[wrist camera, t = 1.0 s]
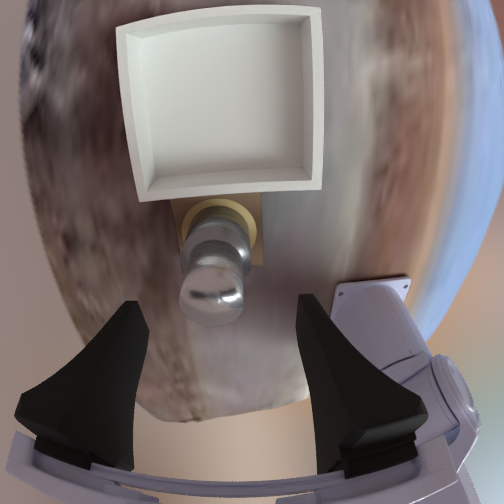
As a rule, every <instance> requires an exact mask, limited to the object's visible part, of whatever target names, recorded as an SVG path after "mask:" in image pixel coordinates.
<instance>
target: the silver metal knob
mask: <svg viewBox="0 0 504 504" xmlns="http://www.w3.org/2000/svg"><path fill="white" fill-rule="evenodd" d="M180 265H181V268H182V270H183V273H184V278H183V283H182V287H181V291H180V296H179V306H180V309H181V311H182V312H183V314H184V315H185V316H186V317H187V318H188V319H190V320H191V321H193V322H195V323H197V324H200V325H204V326H210V327H217V326H224V325H227V324H230V323H232V322H233V321H235V320H236V319H237V318H238V317H239V316H240V315H241V313H242V311H243V307H244V302H243V280H244V279H245V278H246V277H247V275H248V274H249V271H250V268H251V250H250V235H249V227H248V224H247V222H246V220H245V218H244V217H243V216H242V215H241V214H240V213H239V212H237V211H236V210H234V209H232V208H229V207H226V206H210V207H207V208H204V209H202V210H201V211H199V212H198V213H197V214H196V215H195V216H194V217H193V218H192V220H191V222H190V225H189V228H188V231H187V235H186V238H185V241H184V244H183V248H182V251H181V255H180Z"/></svg>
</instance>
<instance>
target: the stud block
mask: <svg viewBox="0 0 504 504" xmlns="http://www.w3.org/2000/svg"><path fill="white" fill-rule="evenodd" d="M170 203H171V208H172V213H173V218H174V224H175V229H176V234H177V238H178V243H179V248H180V253H181V251H182V248H183V244H184V241H185V238H186V235H187V231H188V228H189V225H190V222H191V220H192V218H193V217H194V216H195V215H196V214H197V213H198V212H199V211H201V210H202V209H204V208H207V207H210V206H226V207H229V208H232V209H234V210H236V211H237V212H239V213H240V214H241V215H242V216H243V217H244V218H245V220H246V222H247V224H248V227H249V235H250V250H251V266H258V265H263V235H262V205H261V192H250V193H234V194H220V195H207V196H195V197H184V198H174V199H170Z"/></svg>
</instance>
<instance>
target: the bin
mask: <svg viewBox="0 0 504 504" xmlns="http://www.w3.org/2000/svg"><path fill="white" fill-rule="evenodd" d="M116 44H117V60H118V72H119V83H120V92H121V101H122V109H123V116H124V123H125V130H126V136H127V142H128V148H129V154H130V160H131V165H132V170H133V175H134V180H135V185H136V190H137V194H138V199H139V202H146V201H155V200H164V199H174V198H184V197H195V196H207V195H220V194H234V193H250V192H269V191H293V190H321V187H322V166H323V136H324V67H323V40H322V21H321V8H318V7H308V6H294V5H237V6H223V7H212V8H204V9H196V10H189V11H183V12H177V13H172V14H166V15H162V16H157V17H152V18H148V19H144V20H140V21H136V22H133V23H129V24H126V25H122V26H119V27H116Z"/></svg>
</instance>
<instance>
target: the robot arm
mask: <svg viewBox="0 0 504 504" xmlns="http://www.w3.org/2000/svg"><path fill="white" fill-rule="evenodd" d="M410 283H411V279H410V277H408V276H407V277H398V278H389V279H380V280H370V281H361V282H350V283H341V284H338V285H337V286H336V289H335V294H334V300H333V305H332V310H331V315H330V317H329V316H328V314H327V313H326V312H325V310H324V309H323V307H322V306H321V304H320V303H319V302H318V300H317V298H316V297H315V295H314V294H300V295H299V297H298V307H297V317H296V333H297V341H298V347H299V351H300V355H301V359H302V363H303V367H304V371H305V375H306V379H307V383H308V387H309V392H310V397H311V404H312V412H313V421H314V430H315V443H316V457H317V475H314V476H307V477H299V478H291V479H281V480H269V481H247V482H216V481H197V480H184V479H173V478H166V477H157V476H152V475H145V474H140V473H134V472H131V471H132V470H133V469H134V457H133V420H134V407H135V398H136V392H137V387H138V383H139V379H140V375H141V371H142V367H143V363H144V359H145V355H146V351H147V345H148V337H149V329H148V326H147V324H146V322H145V319H144V317H143V314H142V312H141V309H140V307H139V304H138V302H137V301H125V302H124V303H123V304H122V305H121V306H120V308H119V309H118V310H117V311H116V312H115V314H114V315H113V316H112V317H111V318H110V320H109V321H108V322H107V323H106V324H105V325H104V327H103V328H102V329H101V330H100V331H99V332H98V334H97V335H96V336H95V337H94V338H93V339H92V340H91V341H90V342H89V343H88V344H87V346H86V347H85V348H84V349H83V350H82V351H81V352H80V353H79V354H78V355H76V356H75V357H74V358H73V359H72V360H71V361H70V362H69V363H68V364H66V365H65V366H64V367H63V368H61V369H60V370H59V371H58V372H56V373H55V374H54V375H52V376H51V377H49V378H48V379H47V380H45V381H44V382H42V383H41V384H39V385H38V386H36V387H34V388H32V389H30V390H28V391H26V392H25V393H23V394H21V397H20V400H19V403H18V405H17V408H16V411H15V414H14V416H15V418H16V419H17V421H18V422H20V423H21V424H22V425H23V426H25V427H26V428H27V429H29V430H30V431H31V432H33V433H34V434H35V435H37V437H36V440H34V439H33V438H31V437H29V436H27V435H24V434H22V433H20V432H18V431H15V434H14V437H13V441H12V444H11V448H10V452H9V456H8V460H7V464H6V468H5V471H6V472H8V473H9V474H11V475H12V476H14V477H16V478H18V479H19V480H21V481H23V482H24V483H26V484H28V485H30V486H31V487H33V488H35V489H37V490H39V491H40V492H42V493H44V494H46V495H48V496H50V497H52V498H54V499H56V500H58V501H60V502H62V503H64V504H160V503H159V499H158V498H156V497H153V496H149V495H146V494H143V493H142V492H140V491H136V490H132V489H128V488H124V487H121V485H125V486H130V487H135V488H140V489H145V490H151V491H156V492H164V493H170V494H179V495H188V496H201V497H223V498H243V497H245V498H246V497H268V496H281V495H291V494H299V493H306V492H313V491H315V492H313V493H309V494H302V495H297V496H291V497H285V498H278V499H277V500H276V503H275V504H413V503H414V504H480V501H479V498H478V496H477V493H476V490H475V488H474V486H473V483H472V481H471V479H470V476H469V474H468V471H467V469H466V467H465V465H464V461H465V459H466V458H467V456H468V454H469V453H470V451H471V449H472V448H473V446H474V444H475V442H476V441H477V438H478V436H479V432H480V417H479V413H478V411H477V409H476V407H475V405H474V401H473V398H472V396H471V393H470V390H469V388H468V386H467V384H466V382H465V380H464V378H463V377H462V375H461V373H460V371H459V370H458V368H457V367H456V365H455V364H454V362H453V361H452V360H451V359H450V358H449V357H448V356H442V355H440V354H438V355H436V356H435V357H434V358H433V357H432V355H431V353H430V351H429V349H428V347H427V345H426V343H425V341H424V339H423V337H422V335H421V333H420V332H419V330H418V328H417V326H416V324H415V322H414V320H413V319H412V317H411V315H410V313H409V311H408V310H407V308H406V306H405V304H404V303H403V302H404V300H405V297H406V294H407V292H408V289H409V286H410ZM340 292H342V293H340ZM339 293H340V294H339ZM120 484H121V485H120Z"/></svg>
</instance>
